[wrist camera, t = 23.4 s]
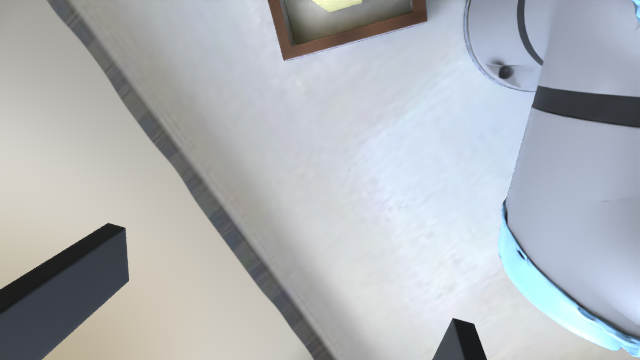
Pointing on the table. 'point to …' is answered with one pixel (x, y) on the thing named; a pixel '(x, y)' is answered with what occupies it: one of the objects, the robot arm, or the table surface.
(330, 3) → the jar
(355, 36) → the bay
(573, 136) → the robot arm
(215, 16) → the table surface
